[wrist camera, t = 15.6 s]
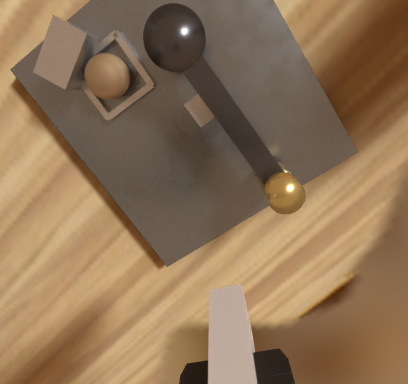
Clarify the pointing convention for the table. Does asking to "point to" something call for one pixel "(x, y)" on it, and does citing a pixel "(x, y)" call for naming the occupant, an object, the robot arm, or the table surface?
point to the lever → (216, 98)
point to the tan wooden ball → (107, 76)
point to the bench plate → (184, 115)
